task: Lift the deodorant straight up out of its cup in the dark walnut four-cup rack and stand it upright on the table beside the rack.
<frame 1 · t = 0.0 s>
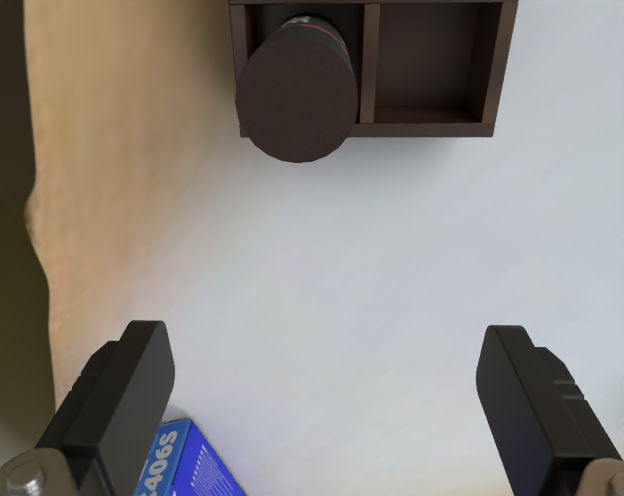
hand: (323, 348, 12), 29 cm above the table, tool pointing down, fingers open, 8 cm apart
deodorant: (307, 55, 35), resting on rack
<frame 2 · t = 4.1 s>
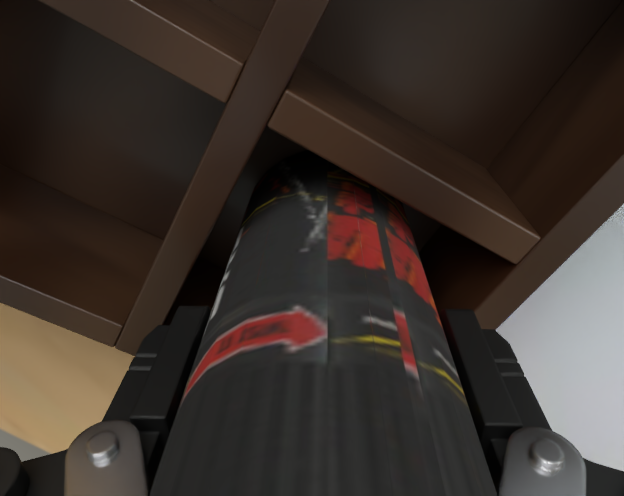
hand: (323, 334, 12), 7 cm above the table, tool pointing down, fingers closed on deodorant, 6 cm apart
rack: (277, 58, 15), on the table
deodorant: (325, 221, 18), resting on rack, touching gripper
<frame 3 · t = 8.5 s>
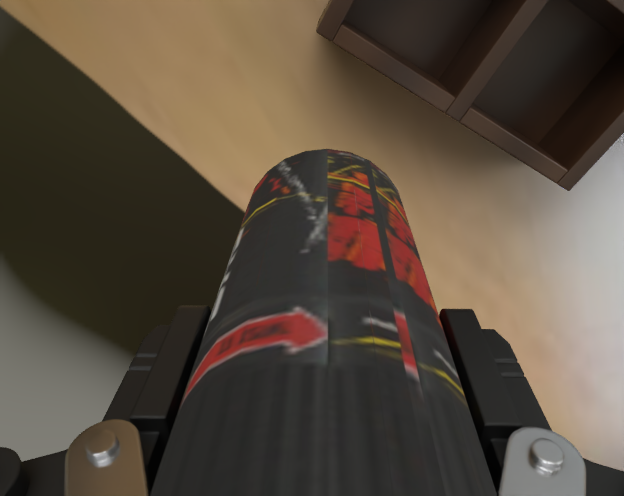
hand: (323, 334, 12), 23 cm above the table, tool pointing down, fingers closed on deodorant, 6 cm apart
deodorant: (325, 222, 18), point 17 cm above the table, touching gripper
when the fingers open (6 cm above the table, at t = 12.7 s): deodorant stays where it is, on the table.
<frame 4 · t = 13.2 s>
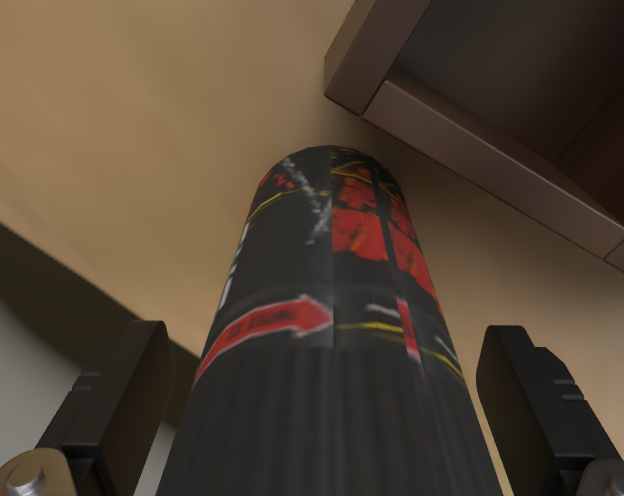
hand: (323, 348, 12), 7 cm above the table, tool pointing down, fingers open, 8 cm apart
deodorant: (328, 217, 18), on the table
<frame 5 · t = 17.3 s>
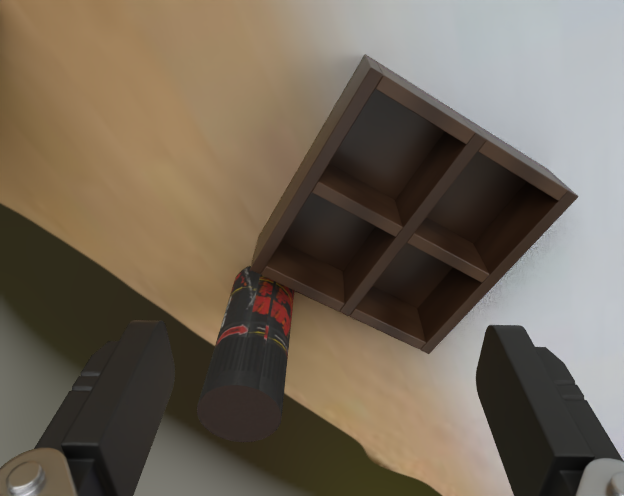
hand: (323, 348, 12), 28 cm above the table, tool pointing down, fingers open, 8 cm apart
rack: (396, 205, 40), on the table
deodorant: (264, 288, 46), on the table
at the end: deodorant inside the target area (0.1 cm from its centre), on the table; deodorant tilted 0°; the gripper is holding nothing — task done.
